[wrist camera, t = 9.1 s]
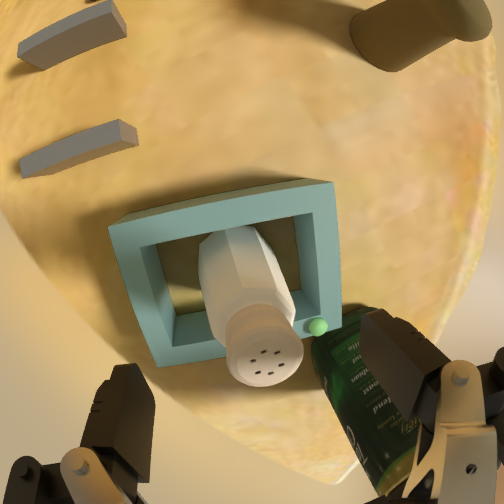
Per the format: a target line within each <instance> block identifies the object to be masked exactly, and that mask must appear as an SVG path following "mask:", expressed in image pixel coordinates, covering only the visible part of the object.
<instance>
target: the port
mask: <svg viewBox="0 0 504 504" xmlns="http://www.w3.org/2000/svg"><path fill="white" fill-rule="evenodd" d="M290 216H293V219H294V227H295V235H296V243H297V252H298V261H299V270H300V280H301V289H300V290H296V291H292V292H290V295H291V297H292V300H293V303H294V306H295V310H296V312H295V317H294V322H293V326H292V328H293V330H294V332H295V333H296V334H297V335H298V336H299V337H300V339H303V338H307V337H310V336H321V335H323V334H324V333H325V332H327V331H331V330H334V329H337V328H341V327H342V294H341V266H340V247H339V233H338V220H337V209H336V198H335V189H334V182H330V181H324V180H317V179H311V178H307V179H300V180H293V181H287V182H280V183H274V184H268V185H262V186H256V187H251V188H245V189H240V190H234V191H229V192H224V193H219V194H214V195H209V196H204V197H199V198H194V199H189V200H185V201H180V202H176V203H171V204H167V205H163V206H158V207H154V208H150V209H146V210H142V211H138V212H134V213H130V214H126V215H125V216H123V217H122V218H120V219H119V220H117V221H116V222H114V223H113V224H111V225H110V226H108V231H109V235H110V238H111V242H112V245H113V249H114V252H115V256H116V259H117V262H118V265H119V269H120V272H121V275H122V278H123V281H124V284H125V287H126V290H127V293H128V296H129V298H130V301H131V304H132V307H133V309H134V312H135V315H136V317H137V320H138V322H139V325H140V327H141V330H142V332H143V335H144V337H145V340H146V342H147V344H148V347H149V349H150V351H151V354H152V356H153V358H154V360H155V363H156V365H157V367H158V368H161V367H168V366H175V365H182V364H188V363H194V362H200V361H205V360H211V359H216V358H221V357H226V355H227V350H226V347H224V346H223V345H222V344H221V343H220V342H219V341H218V340H216V339H215V338H214V336H213V333H212V331H211V327H210V323H209V319H208V315H207V311H206V310H205V311H200V312H194V313H189V314H184V315H179V316H176V313H175V309H174V306H173V303H172V300H171V297H170V294H169V290H168V287H167V284H166V280H165V277H164V273H163V270H162V266H161V263H160V259H159V255H158V252H157V248H156V244H157V243H162V242H166V241H171V240H175V239H180V238H185V237H189V236H194V235H199V234H204V233H208V232H213V231H218V230H223V229H228V228H233V227H238V226H243V225H248V224H253V223H258V222H263V221H269V220H274V219H279V218H285V217H290Z"/></svg>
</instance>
